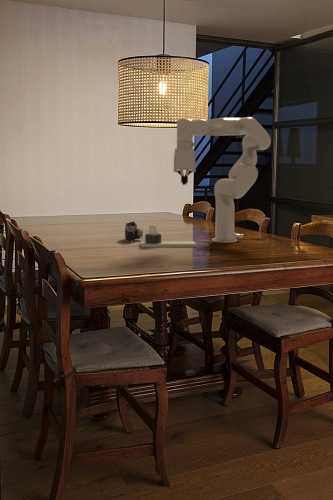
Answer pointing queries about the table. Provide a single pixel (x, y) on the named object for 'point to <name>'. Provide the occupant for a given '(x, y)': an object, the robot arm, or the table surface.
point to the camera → (132, 232)
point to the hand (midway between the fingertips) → (184, 184)
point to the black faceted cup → (153, 239)
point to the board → (170, 244)
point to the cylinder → (153, 230)
